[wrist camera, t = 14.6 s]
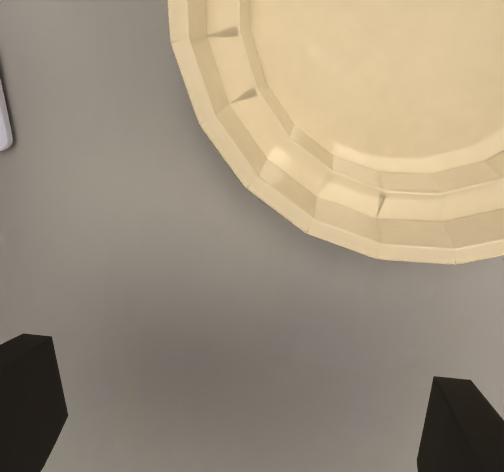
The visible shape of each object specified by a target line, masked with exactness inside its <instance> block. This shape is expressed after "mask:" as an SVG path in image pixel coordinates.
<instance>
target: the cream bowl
mask: <svg viewBox="0 0 504 472" xmlns="http://www.w3.org/2000/svg"><path fill="white" fill-rule="evenodd" d="M167 5H168V21H169V36H170V41H171V47H172V50H173V52H174V55H175V58H176V61H177V64H178V67H179V69H180V72H181V75H182V78H183V81H184V84H185V86H186V89H187V92H188V95H189V98H190V100H191V103H192V106H193V109H194V112H195V115H196V117H197V120H198V122H199V123H200V127H201V128H202V129H203V131H204V132H205V134H206V135H207V136H208V138H209V139H210V140H211V142H212V143H213V144H214V146H215V147H216V149H217V150H218V151H219V153H220V154H221V155H222V157H223V158H224V160H225V161H226V162H227V164H228V165H229V166H230V168H231V169H232V171H233V172H234V173H235V175H236V176H237V177H238V179H239V180H240V182H241V183H242V184H243V186H244V187H246V188H247V190H249V191H250V192H251V193H253V194H254V195H255V196H257V197H258V198H259V199H261V200H262V201H263V202H265V203H266V204H267V205H269V206H270V207H271V208H273V209H274V210H275V211H277V212H278V213H279V214H281V215H282V216H283V217H285V218H286V219H287V220H289V221H290V222H291V223H293V224H294V225H295V226H297V227H298V228H299V229H301V230H302V231H303V232H306V233H307V234H309V235H311V236H314V237H317V238H320V239H322V240H325V241H328V242H331V243H333V244H336V245H339V246H341V247H344V248H347V249H350V250H352V251H355V252H358V253H361V254H363V255H366V256H369V257H371V258H374V259H379V260H393V261H407V262H421V263H435V264H449V265H454V264H462V263H467V262H472V261H478V260H483V259H488V258H493V257H498V256H504V0H167Z"/></svg>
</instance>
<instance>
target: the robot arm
mask: <svg viewBox="0 0 504 472" xmlns="http://www.w3.org/2000/svg"><path fill="white" fill-rule="evenodd" d="M12 142H13V136H12V132H11V127H10V122H9V117H8V112H7V107H6V103H5V98H4V93H3V88H2V83H1V78H0V151H3V150H5V149H7V148H9V147H10V146H11V144H12ZM67 417H68V412H67V407H66V403H65V398H64V393H63V388H62V384H61V379H60V374H59V369H58V364H57V360H56V355H55V350H54V345H53V340H52V337H51V336H41V335H32V334H21V335H19V336H17V337H15V338H13V339H11V340H9V341H7V342H5V343H3V344H1V345H0V472H41V470H42V468H43V467H44V465H45V463H46V461H47V459H48V457H49V455H50V453H51V451H52V449H53V447H54V445H55V443H56V441H57V439H58V437H59V434H60V432H61V430H62V428H63V426H64V424H65V421H66V419H67ZM417 466H418V472H504V420H503V419H502V418H501V417H500V415H499V414H498V413H497V412H496V410H495V409H494V408H493V407H492V406H491V404H490V403H489V402H488V401H487V399H486V398H485V397H484V396H483V394H482V393H481V392H480V391H479V390H478V388H477V387H476V386H475V385H474V384H473V382H472V381H471V380H465V379H455V378H446V377H436V376H434V378H433V383H432V388H431V393H430V398H429V403H428V408H427V413H426V418H425V423H424V428H423V432H422V437H421V442H420V447H419V452H418V457H417Z"/></svg>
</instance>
